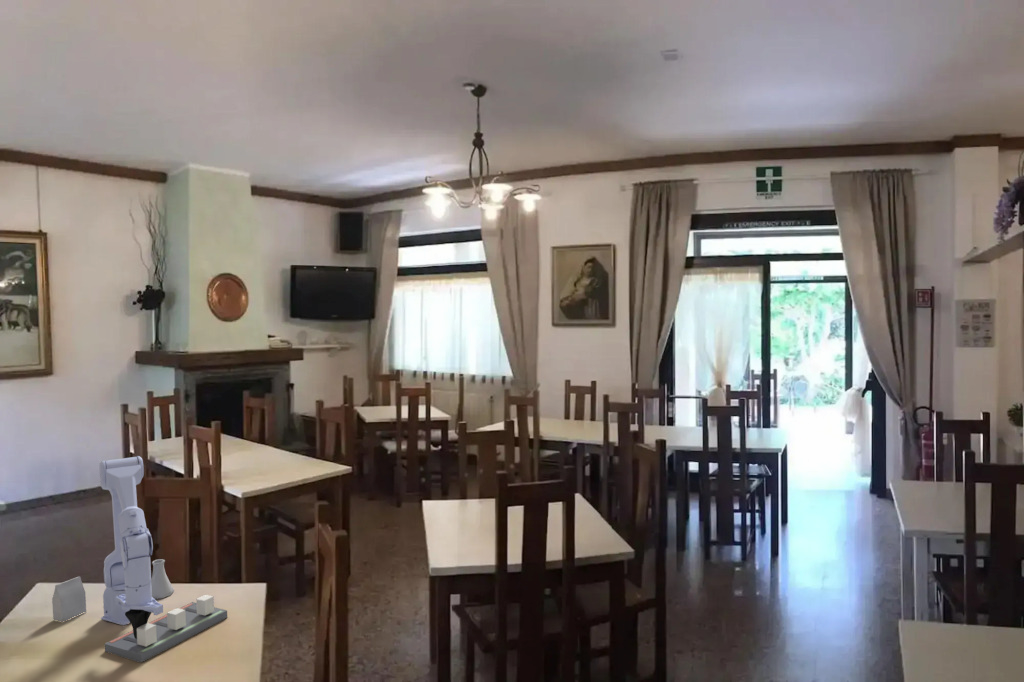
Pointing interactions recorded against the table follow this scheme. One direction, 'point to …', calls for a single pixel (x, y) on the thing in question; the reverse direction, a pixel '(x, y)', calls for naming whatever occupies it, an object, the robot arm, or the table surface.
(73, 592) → the grey paper bag
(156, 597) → the flask
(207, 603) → the switch far
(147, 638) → the switch
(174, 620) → the switch middle
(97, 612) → the table surface
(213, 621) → the panel
